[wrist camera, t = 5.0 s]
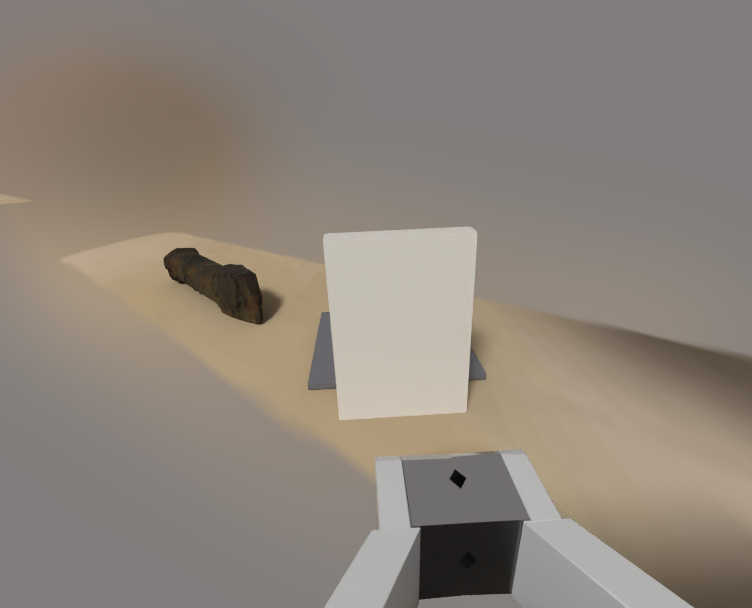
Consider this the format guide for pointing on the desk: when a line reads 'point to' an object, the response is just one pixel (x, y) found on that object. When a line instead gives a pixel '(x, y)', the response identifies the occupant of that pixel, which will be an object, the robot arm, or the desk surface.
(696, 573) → the desk surface
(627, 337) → the desk surface
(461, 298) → the tile
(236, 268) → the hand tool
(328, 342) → the mat
